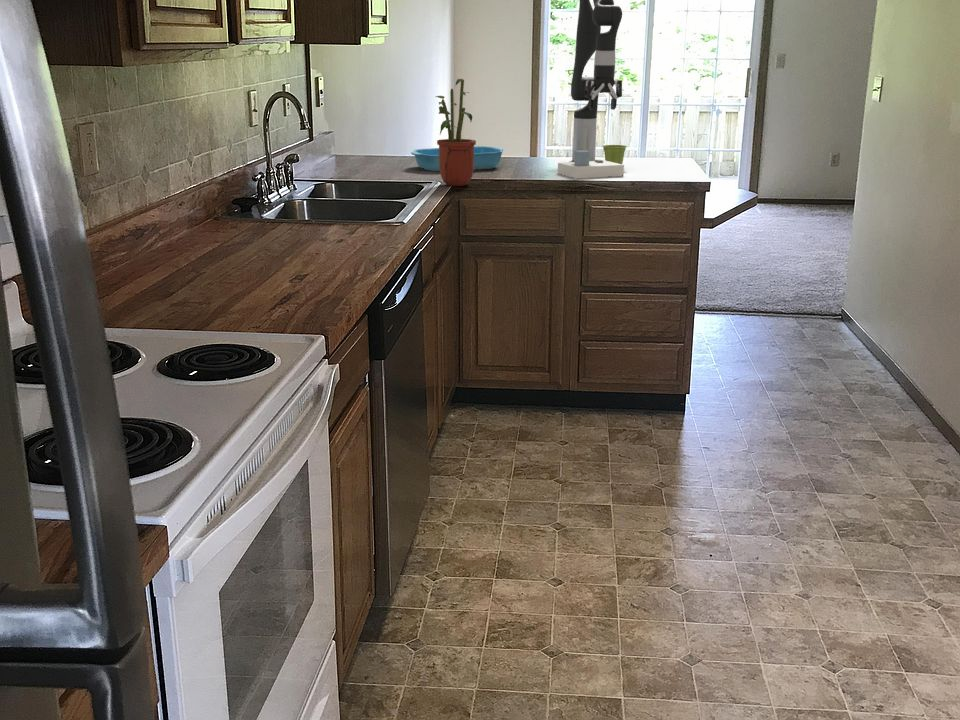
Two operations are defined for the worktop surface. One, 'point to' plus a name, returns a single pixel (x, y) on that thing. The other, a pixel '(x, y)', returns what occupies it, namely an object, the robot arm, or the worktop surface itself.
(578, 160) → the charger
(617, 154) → the plant pot
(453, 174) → the potted plant
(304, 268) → the worktop surface
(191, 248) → the worktop surface
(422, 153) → the casserole dish
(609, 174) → the outlet plate
